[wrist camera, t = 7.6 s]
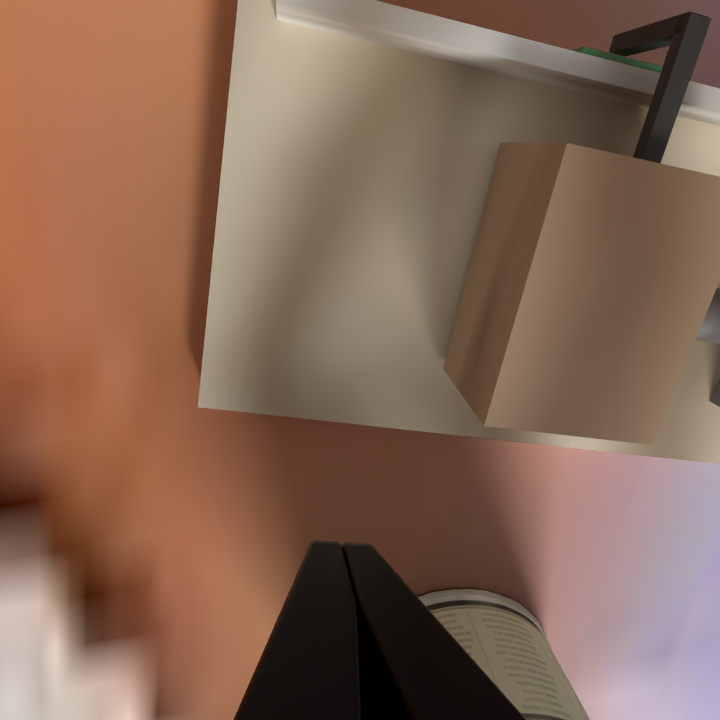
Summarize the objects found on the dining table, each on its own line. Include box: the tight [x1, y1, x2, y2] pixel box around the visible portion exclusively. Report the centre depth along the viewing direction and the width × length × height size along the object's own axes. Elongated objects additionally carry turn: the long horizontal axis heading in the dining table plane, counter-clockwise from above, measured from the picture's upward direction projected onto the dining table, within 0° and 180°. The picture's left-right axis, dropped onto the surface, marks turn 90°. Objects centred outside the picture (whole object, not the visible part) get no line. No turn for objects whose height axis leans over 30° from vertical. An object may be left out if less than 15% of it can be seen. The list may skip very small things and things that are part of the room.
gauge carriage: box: [443, 12, 720, 445], centre depth 15 cm, size 8×10×4 cm
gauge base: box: [198, 0, 720, 464], centre depth 17 cm, size 22×12×5 cm, turn 79°
